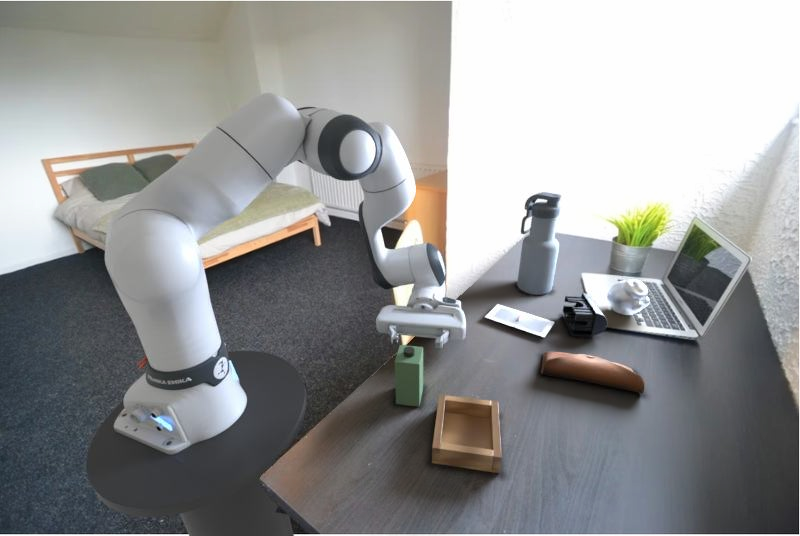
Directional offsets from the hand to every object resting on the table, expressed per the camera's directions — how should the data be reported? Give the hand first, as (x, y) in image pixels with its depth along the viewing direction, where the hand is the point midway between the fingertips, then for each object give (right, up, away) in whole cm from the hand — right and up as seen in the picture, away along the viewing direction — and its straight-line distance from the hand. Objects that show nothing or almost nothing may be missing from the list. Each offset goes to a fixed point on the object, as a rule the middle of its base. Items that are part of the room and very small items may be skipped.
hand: (416, 343), depth 78 cm
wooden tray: (+8, -13, -15) cm, 21 cm away
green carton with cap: (-2, -9, -6) cm, 11 cm away
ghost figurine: (+55, +4, +19) cm, 58 cm away
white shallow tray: (+26, +2, +16) cm, 31 cm away
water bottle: (+36, +10, +32) cm, 50 cm away
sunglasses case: (+35, -6, -2) cm, 36 cm away
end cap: (+41, +1, +14) cm, 44 cm away
